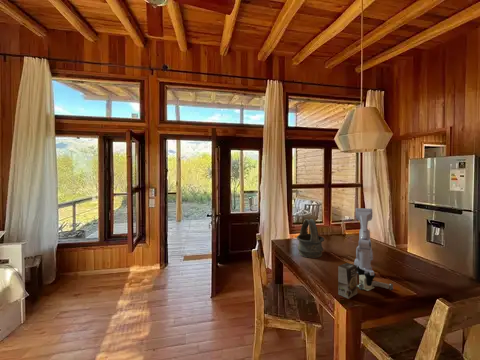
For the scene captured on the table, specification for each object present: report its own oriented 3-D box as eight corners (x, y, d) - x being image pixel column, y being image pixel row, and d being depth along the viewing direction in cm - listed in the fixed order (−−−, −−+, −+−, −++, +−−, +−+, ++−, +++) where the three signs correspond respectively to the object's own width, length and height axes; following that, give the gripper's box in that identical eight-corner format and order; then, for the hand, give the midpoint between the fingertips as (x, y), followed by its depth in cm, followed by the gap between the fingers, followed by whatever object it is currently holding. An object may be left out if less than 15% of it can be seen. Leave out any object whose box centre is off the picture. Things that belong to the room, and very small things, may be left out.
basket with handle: (296, 258, 193) (296, 221, 192) (297, 249, 215) (296, 216, 215) (325, 260, 187) (325, 221, 187) (322, 250, 210) (322, 216, 209)
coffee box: (348, 299, 129) (348, 269, 129) (337, 294, 134) (337, 265, 134) (357, 293, 134) (357, 265, 134) (346, 289, 139) (346, 262, 139)
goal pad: (356, 286, 143) (356, 285, 143) (363, 283, 147) (363, 282, 147) (367, 291, 137) (367, 290, 137) (374, 287, 141) (374, 287, 141)
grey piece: (355, 285, 144) (355, 280, 144) (388, 285, 143) (388, 280, 143) (359, 289, 139) (359, 284, 139) (393, 290, 138) (393, 284, 138)
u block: (364, 288, 139) (364, 278, 139) (359, 284, 144) (359, 275, 144) (371, 288, 140) (371, 277, 140) (366, 284, 145) (366, 274, 145)
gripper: (379, 263, 135) (379, 287, 135) (364, 255, 149) (364, 276, 149) (367, 264, 134) (367, 288, 135) (353, 255, 149) (353, 277, 149)
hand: (365, 282), depth 142 cm, fingers open, 7 cm apart
